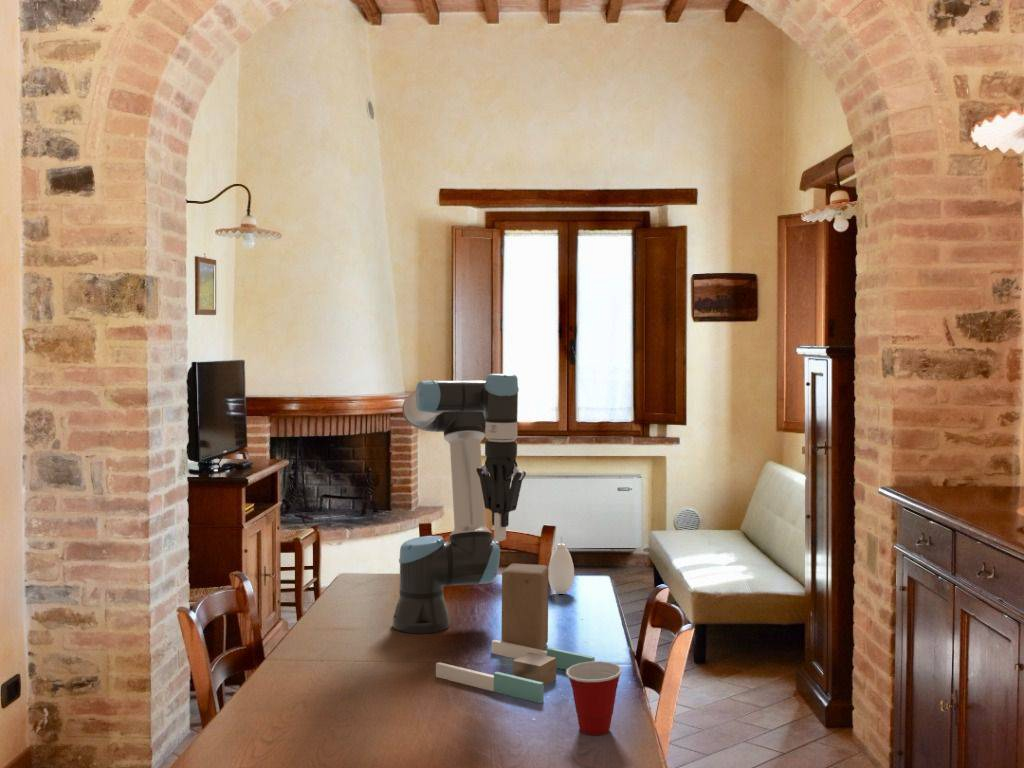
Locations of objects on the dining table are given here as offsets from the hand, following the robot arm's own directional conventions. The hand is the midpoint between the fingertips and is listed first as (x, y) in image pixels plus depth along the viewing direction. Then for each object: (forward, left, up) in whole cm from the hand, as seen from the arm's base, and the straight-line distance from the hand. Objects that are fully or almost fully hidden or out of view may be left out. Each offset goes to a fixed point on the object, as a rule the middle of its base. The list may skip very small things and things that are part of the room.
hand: (500, 539), depth 226 cm
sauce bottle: (-22, +63, -29) cm, 73 cm away
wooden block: (-1, +13, -29) cm, 32 cm away
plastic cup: (+39, -23, -29) cm, 53 cm away
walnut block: (+14, -6, -29) cm, 33 cm away
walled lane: (+8, -6, -29) cm, 30 cm away
